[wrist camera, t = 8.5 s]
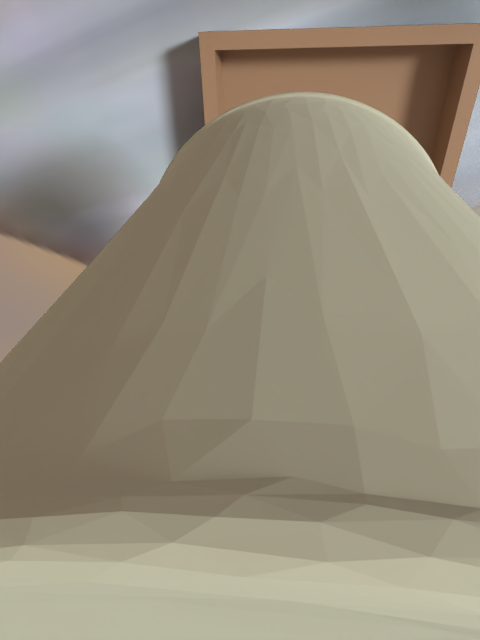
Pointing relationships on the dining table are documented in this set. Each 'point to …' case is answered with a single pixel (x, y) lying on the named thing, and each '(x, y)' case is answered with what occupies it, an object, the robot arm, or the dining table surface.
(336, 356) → the can
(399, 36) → the brown square tray
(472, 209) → the robot arm
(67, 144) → the dining table surface
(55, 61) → the dining table surface
